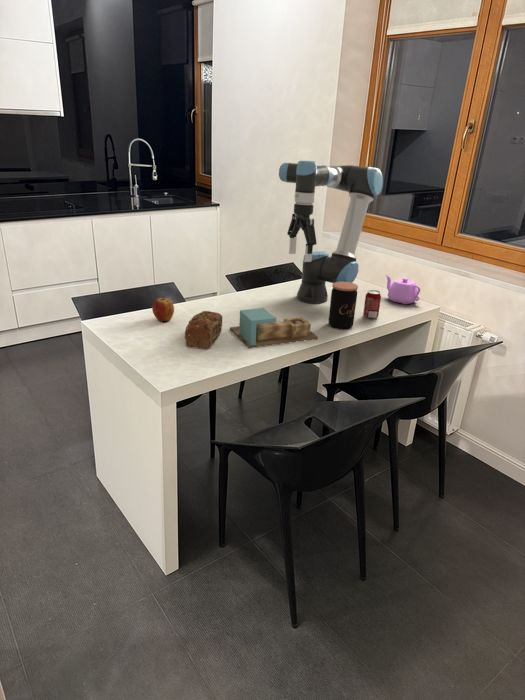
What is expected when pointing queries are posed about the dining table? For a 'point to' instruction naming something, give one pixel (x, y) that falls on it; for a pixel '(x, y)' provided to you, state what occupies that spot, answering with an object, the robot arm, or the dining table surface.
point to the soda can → (372, 304)
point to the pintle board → (273, 340)
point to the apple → (163, 309)
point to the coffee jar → (342, 305)
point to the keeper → (253, 323)
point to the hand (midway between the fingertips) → (299, 257)
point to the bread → (203, 329)
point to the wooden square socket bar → (283, 329)
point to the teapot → (402, 290)
